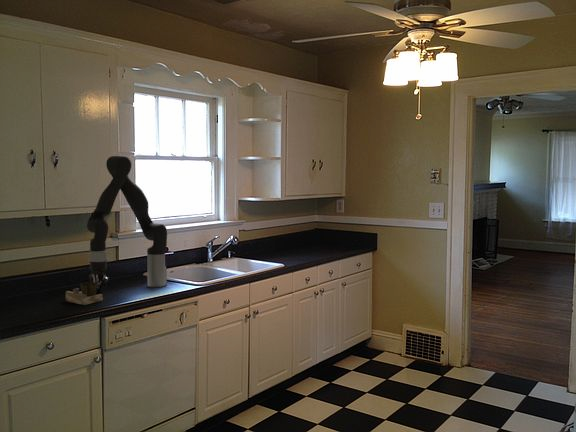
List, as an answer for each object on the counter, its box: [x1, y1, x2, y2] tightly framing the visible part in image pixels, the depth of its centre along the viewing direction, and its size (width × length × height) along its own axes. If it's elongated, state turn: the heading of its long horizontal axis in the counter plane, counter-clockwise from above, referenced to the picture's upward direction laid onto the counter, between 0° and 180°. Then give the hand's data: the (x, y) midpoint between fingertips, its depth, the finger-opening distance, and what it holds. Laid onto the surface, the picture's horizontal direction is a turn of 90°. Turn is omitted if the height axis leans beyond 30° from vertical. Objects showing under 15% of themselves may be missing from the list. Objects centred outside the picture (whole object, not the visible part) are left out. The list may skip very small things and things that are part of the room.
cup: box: [80, 281, 97, 297], centre depth 263 cm, size 8×7×8 cm
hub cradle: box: [65, 287, 104, 306], centre depth 261 cm, size 11×13×6 cm
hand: (99, 295), depth 269 cm, fingers closed
